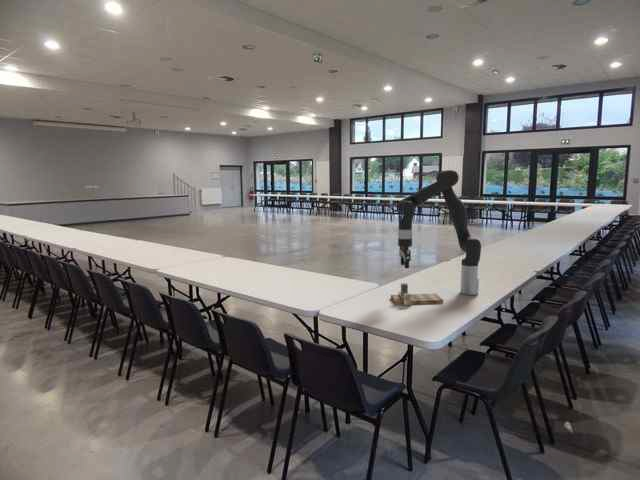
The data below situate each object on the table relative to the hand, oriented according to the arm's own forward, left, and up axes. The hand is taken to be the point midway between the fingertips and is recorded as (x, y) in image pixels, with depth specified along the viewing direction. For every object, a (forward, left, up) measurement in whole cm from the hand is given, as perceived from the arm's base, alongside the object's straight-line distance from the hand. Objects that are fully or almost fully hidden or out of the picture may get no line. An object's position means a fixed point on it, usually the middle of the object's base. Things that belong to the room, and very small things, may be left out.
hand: (404, 266), depth 223 cm
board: (-7, 0, -20) cm, 21 cm away
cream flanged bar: (0, 0, -20) cm, 20 cm away
